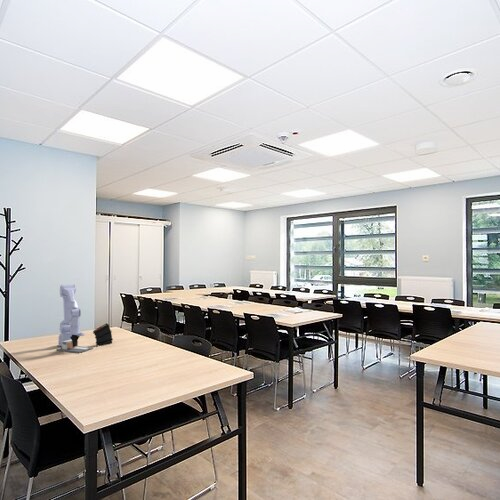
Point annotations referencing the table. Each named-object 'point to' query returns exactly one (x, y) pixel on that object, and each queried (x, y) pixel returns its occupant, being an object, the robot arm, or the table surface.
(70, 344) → the block with grey knob
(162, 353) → the table surface
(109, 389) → the table surface
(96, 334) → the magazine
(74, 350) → the din rail
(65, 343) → the block
